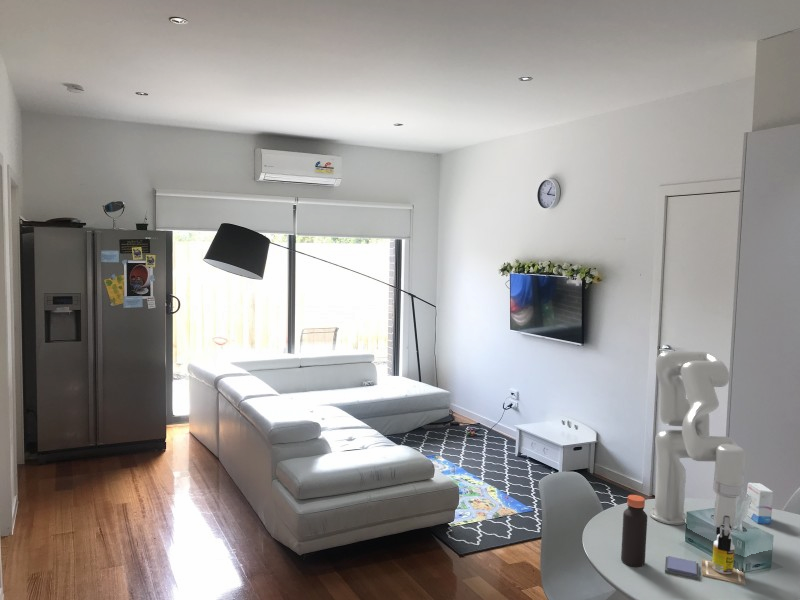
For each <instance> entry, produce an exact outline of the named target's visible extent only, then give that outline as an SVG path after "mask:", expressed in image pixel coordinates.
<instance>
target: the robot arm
mask: <svg viewBox="0 0 800 600" xmlns="http://www.w3.org/2000/svg"><path fill="white" fill-rule="evenodd" d="M655 372H656V376H657V378H658V383H659V384H658V385H659V417H660V420H661V423H662V424H664V425H665V426H671V427H681V429H664V430H661V431H659V432H657V433H656V436H655V439H654V442H655V443H654V444H655V452H656V453H655V454H656V475H655V476H656V477H655V493H654V494H655V495H654V507H653V508H650V509H649V516H650V518H652V519H653V520H655V521H657V522H660V523H663V524H667V525H673V526H677V525H678V526H680V525H685V524H686V523H685V519H686V515H687V514H686V513H685V512H684V511H685V495H686V482H687V481H686V479H687V472H686V470H687V469H686V468H685V465H683V463H682V462H681V460H680V459H685V458H686V459H692V460H693V461H695V462H715V464H714V474H713V486H712V491H713V492H715V500H714V509H713V523H714V527H716V535H718V534H720V536H719V537H718V549H719V550H723V551H728V552H730V547H731V537H732V536H731V535H732V531H733V530H734V529H735V522H736V521H735V520H736V512H737V511H736V510H737V502H738V498H739V497H742V496H743V485H744V476H745V475H744V474H745V465H746V464H745V463H746V451H745V450H744V448H742V447H741V446H739V445H738V444H737V443H736V441H735V440H734V439H733V438H731V437H730V436H713V435H710V414H711V413H712V412H714V411H716V410H717V409H718V407H719V406H720V403H719V402H720V401H719V399H718V396H717V393H716V390H715V388H724V387H726V386H727V385H728V384H729V382H730V373H729V372H730V371H729V370H728V367H727V365H726V364H725V363H724V362H723V361H722V360H720V358H717V357H716V356H714V355H713V354H711V353H709V352H706V351H694V350H693V351H689V350H687V351H686V350H685V351H684V350H669V351H668V350H667V351H663V352H661V353H660V354H658V356H657V357H656V361H655Z"/></svg>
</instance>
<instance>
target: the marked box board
mask: <svg viewBox="0 0 800 600" xmlns="http://www.w3.org/2000/svg"><path fill="white" fill-rule="evenodd" d="M701 573H702V574H701V575H702V577H704V578H705V577H706V578H709V579H714V580H717V581H724V582H729V583H732V584H737V585H742V586H746V579H745V574H744V571H743V572H742V571H739V570H738V569H735V568H733V572H732V573H731V574H722V573H719V572H717V571H715V570H714V569H713V568H712V560H710V559H707V558H701Z"/></svg>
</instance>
